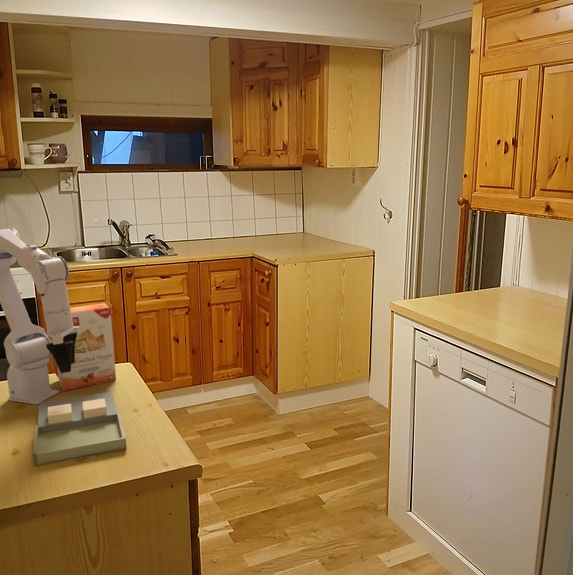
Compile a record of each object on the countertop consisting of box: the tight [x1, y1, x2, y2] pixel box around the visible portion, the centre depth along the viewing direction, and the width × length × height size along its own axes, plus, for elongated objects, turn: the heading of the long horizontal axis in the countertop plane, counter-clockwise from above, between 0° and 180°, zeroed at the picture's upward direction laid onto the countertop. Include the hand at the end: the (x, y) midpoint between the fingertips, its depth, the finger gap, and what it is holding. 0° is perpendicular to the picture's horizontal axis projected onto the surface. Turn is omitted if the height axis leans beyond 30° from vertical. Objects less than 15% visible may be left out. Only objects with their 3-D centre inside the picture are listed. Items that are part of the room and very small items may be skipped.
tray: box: [32, 411, 128, 467], centre depth 127 cm, size 14×18×2 cm
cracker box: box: [58, 302, 117, 392], centre depth 157 cm, size 14×6×21 cm, turn 122°
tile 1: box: [48, 404, 72, 424], centre depth 134 cm, size 5×5×2 cm
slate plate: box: [37, 391, 118, 434], centre depth 139 cm, size 14×17×2 cm
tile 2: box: [82, 398, 107, 419], centre depth 137 cm, size 5×5×2 cm
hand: (67, 368), depth 137 cm, fingers open, 7 cm apart
